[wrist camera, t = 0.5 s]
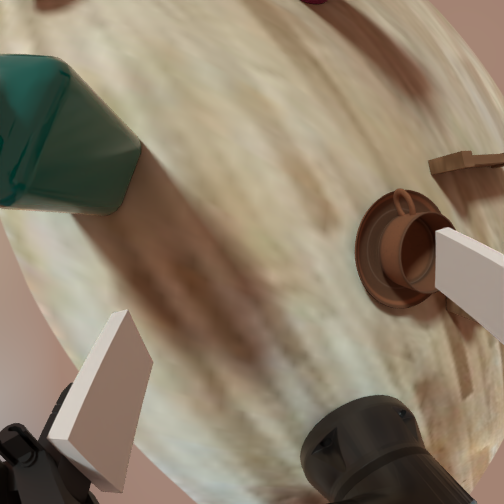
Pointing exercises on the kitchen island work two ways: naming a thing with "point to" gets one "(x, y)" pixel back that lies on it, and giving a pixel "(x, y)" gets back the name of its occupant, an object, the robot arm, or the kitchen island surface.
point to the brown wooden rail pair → (455, 163)
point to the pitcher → (60, 141)
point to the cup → (314, 1)
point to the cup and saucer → (399, 248)
